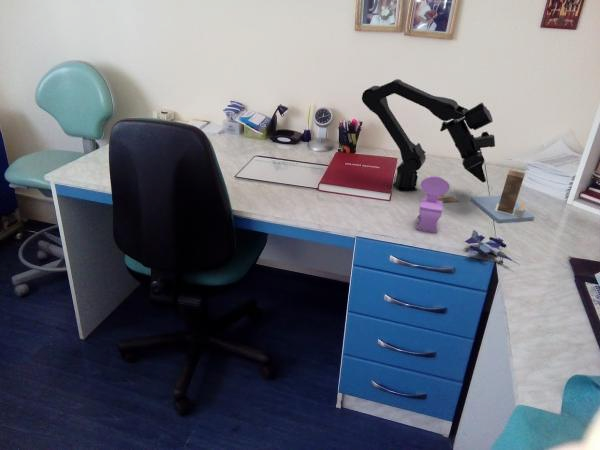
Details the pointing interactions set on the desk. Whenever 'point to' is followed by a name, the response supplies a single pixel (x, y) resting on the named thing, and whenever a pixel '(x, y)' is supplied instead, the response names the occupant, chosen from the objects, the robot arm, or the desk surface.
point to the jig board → (491, 205)
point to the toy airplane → (487, 246)
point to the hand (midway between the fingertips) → (483, 178)
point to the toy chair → (431, 203)
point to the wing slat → (447, 199)
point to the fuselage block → (510, 191)
